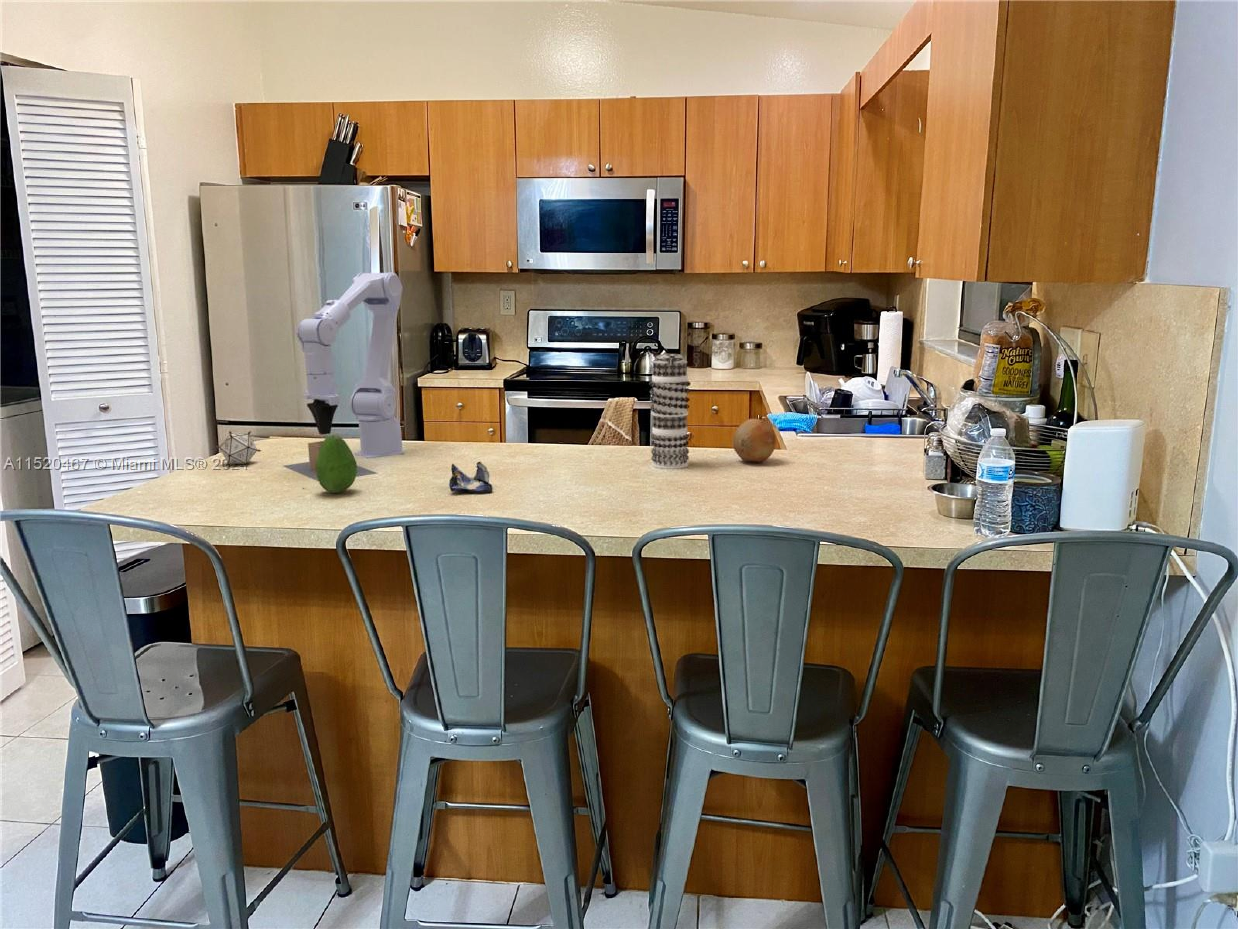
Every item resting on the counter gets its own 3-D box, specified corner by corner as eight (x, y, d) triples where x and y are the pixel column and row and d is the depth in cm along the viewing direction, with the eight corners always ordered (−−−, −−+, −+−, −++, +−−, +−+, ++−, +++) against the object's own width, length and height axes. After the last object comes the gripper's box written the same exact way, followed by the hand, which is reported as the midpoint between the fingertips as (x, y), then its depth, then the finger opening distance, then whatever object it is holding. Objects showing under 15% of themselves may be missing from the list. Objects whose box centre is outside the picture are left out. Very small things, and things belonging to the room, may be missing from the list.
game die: (250, 479, 214) (274, 443, 215) (231, 474, 206) (256, 437, 207) (221, 459, 216) (245, 424, 217) (201, 453, 208) (226, 417, 208)
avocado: (321, 499, 179) (316, 439, 177) (314, 491, 186) (309, 433, 184) (362, 494, 183) (358, 435, 180) (354, 486, 190) (350, 429, 187)
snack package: (510, 485, 191) (461, 480, 194) (507, 457, 188) (458, 452, 192) (484, 508, 180) (433, 503, 184) (481, 478, 178) (429, 473, 182)
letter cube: (333, 439, 208) (344, 443, 203) (335, 465, 209) (346, 469, 205) (307, 443, 204) (318, 446, 200) (309, 469, 206) (320, 473, 201)
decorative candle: (669, 471, 200) (669, 357, 195) (641, 464, 207) (640, 354, 201) (698, 465, 206) (699, 354, 200) (670, 459, 213) (669, 352, 207)
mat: (336, 459, 218) (335, 457, 218) (378, 474, 200) (378, 473, 200) (281, 467, 210) (281, 465, 209) (321, 484, 192) (321, 482, 192)
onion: (727, 465, 205) (728, 421, 203) (738, 456, 214) (739, 414, 212) (769, 468, 202) (770, 423, 200) (779, 459, 211) (780, 416, 209)
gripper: (289, 372, 204) (295, 431, 207) (315, 377, 193) (320, 440, 196) (320, 369, 208) (325, 428, 211) (346, 374, 197) (351, 436, 200)
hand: (324, 433), depth 204 cm, fingers closed
